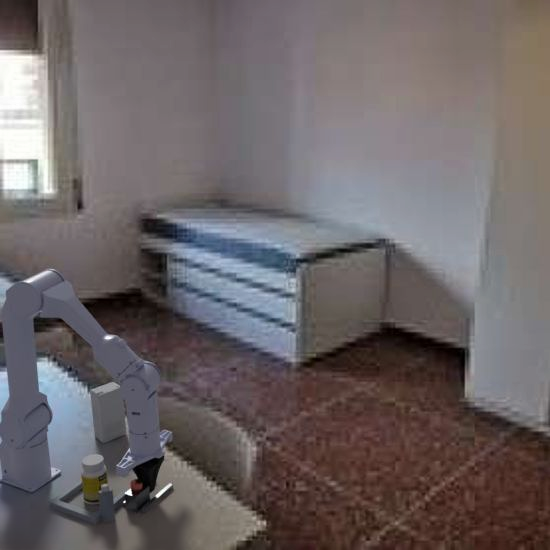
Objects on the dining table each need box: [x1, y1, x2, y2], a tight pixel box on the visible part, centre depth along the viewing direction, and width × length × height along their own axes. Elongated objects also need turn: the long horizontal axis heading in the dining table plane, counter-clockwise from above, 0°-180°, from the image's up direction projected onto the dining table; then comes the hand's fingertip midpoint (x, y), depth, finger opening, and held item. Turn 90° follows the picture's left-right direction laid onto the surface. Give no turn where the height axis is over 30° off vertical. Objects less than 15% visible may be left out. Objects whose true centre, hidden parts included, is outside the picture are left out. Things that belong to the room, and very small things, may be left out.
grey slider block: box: [125, 478, 151, 514], centre depth 127 cm, size 3×4×5 cm, turn 153°
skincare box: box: [89, 381, 127, 444], centre depth 151 cm, size 6×4×12 cm
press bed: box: [48, 477, 130, 525], centre depth 128 cm, size 13×10×7 cm
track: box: [122, 482, 174, 514], centre depth 130 cm, size 5×9×1 cm, turn 153°
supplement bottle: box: [80, 453, 109, 506], centre depth 129 cm, size 5×5×8 cm
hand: (148, 490), depth 130 cm, fingers closed
